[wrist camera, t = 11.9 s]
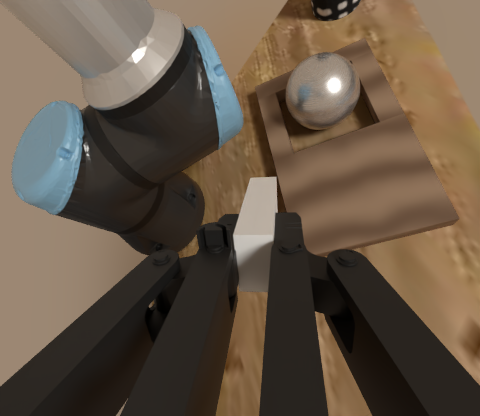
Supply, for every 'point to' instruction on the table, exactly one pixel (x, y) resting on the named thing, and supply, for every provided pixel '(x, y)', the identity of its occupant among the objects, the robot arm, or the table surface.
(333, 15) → the white-spotted black cylinder
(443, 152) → the table surface
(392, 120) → the brown wooden frame
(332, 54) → the steel ball
